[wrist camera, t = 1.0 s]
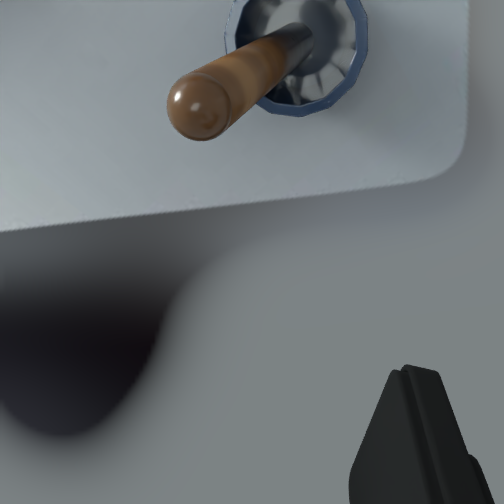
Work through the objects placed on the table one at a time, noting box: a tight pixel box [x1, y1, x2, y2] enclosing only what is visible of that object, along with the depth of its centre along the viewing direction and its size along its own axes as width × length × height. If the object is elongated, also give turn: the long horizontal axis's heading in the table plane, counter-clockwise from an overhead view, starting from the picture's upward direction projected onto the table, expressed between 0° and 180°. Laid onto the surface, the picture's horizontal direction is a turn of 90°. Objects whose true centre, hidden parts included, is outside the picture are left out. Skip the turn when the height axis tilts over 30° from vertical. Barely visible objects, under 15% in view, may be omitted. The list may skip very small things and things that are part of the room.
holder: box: [224, 0, 368, 117], centre depth 24 cm, size 6×6×8 cm
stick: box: [167, 22, 314, 141], centre depth 20 cm, size 2×2×16 cm
